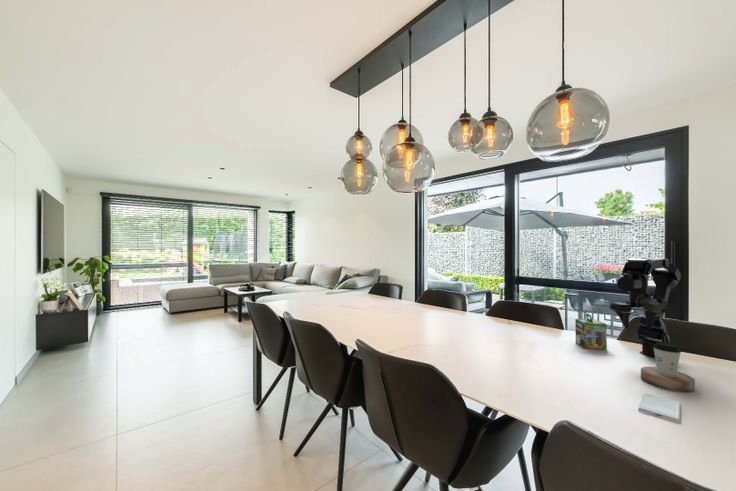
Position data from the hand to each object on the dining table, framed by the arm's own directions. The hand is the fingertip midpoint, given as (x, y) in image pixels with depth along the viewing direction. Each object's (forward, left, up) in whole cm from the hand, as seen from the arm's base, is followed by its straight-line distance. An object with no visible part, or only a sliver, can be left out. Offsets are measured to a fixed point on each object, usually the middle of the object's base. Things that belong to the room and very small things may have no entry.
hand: (638, 328), depth 123 cm
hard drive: (+26, +36, -14) cm, 46 cm away
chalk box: (+6, -18, -13) cm, 23 cm away
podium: (+8, +20, -13) cm, 25 cm away
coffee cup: (+8, +20, -10) cm, 24 cm away
